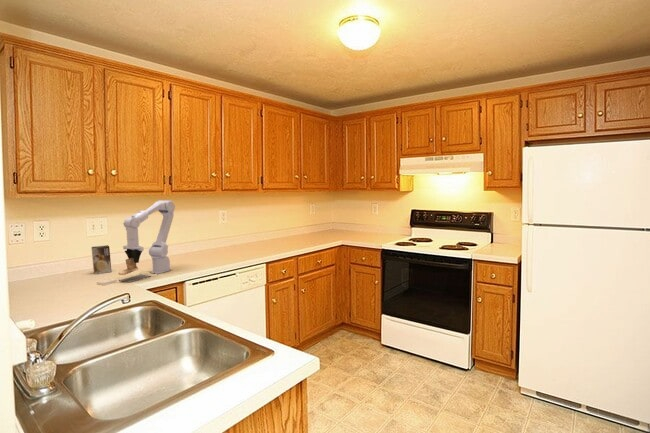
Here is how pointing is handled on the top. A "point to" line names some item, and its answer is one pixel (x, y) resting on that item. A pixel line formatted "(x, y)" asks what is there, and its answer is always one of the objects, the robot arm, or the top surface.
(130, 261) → the brown l-shaped block
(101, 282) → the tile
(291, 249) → the top surface
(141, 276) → the mat
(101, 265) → the coffee box
